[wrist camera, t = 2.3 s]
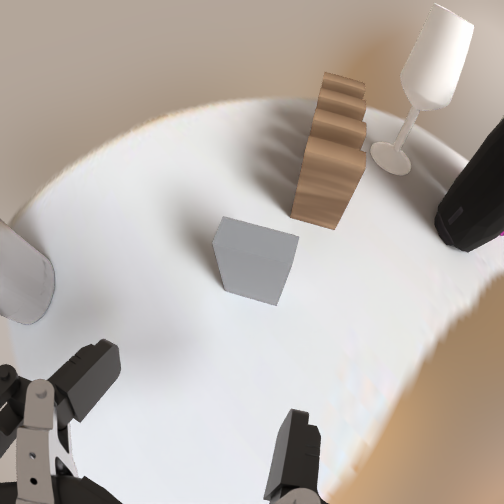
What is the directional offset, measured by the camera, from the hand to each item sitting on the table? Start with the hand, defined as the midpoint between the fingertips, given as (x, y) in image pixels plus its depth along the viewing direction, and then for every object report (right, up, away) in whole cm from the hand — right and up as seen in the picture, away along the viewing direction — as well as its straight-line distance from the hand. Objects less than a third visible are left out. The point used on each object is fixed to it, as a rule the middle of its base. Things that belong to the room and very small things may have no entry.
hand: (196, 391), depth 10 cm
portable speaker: (+30, +9, +19) cm, 36 cm away
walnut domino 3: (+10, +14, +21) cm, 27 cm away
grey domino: (+3, +3, +16) cm, 16 cm away
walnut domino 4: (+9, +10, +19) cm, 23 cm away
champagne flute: (+22, +19, +24) cm, 38 cm away
